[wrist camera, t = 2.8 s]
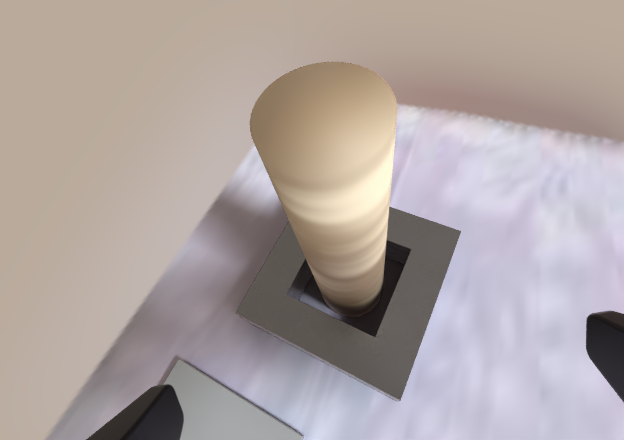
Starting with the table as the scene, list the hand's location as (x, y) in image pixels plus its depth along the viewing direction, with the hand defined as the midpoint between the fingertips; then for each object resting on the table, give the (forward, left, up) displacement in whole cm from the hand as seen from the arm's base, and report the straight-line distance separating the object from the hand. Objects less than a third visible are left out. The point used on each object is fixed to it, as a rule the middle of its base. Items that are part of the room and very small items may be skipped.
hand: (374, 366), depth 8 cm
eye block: (+3, -5, -12) cm, 13 cm away
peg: (+3, -5, -12) cm, 13 cm away
